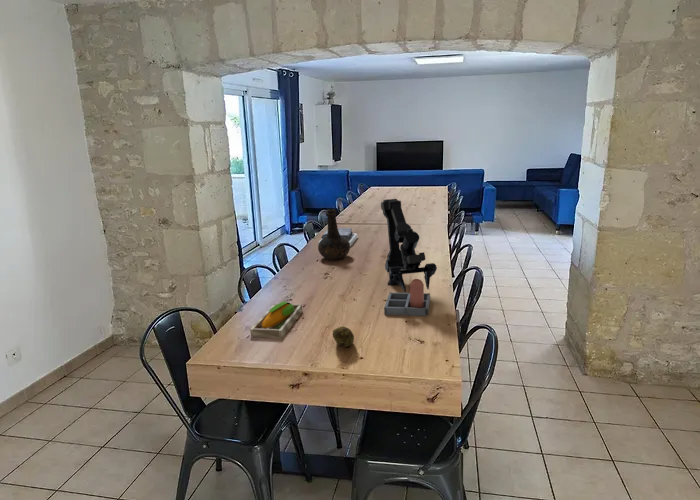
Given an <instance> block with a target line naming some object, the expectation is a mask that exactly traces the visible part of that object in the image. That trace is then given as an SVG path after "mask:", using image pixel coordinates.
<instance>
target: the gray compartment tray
mask: <svg viewBox="0 0 700 500" xmlns="http://www.w3.org/2000/svg"><path fill="white" fill-rule="evenodd" d="M385 301H386V302H385V304H384V307H383V309H384V315H387V316H412V317H428V316H429V312H430V311H429V310H430V302H431V293H429V292H428V293H427V292H426V293H425V292H424V308H412V307H410V292H389V294H388V297H387V299H386V300H385Z"/></svg>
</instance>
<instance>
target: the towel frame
mask: <svg viewBox="0 0 700 500" xmlns="http://www.w3.org/2000/svg"><path fill="white" fill-rule="evenodd" d="M352 234H353V235H352V238H351V240H350V241H349V243H350V248H351V247H352V245H353V244H354V243H355V241H357V239H358V233H355V232H354V233H352ZM321 240H322V238H321V239H320V240H319V241H318V242H317V244H318V245H319V242H320V241H321Z"/></svg>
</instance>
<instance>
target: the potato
mask: <svg viewBox="0 0 700 500" xmlns="http://www.w3.org/2000/svg"><path fill="white" fill-rule="evenodd" d="M353 333H354V332H353V331H352V330H351V329H350V328H348V327H347V326H338V327H336V328H334V329H333V331H332V337H333V339H334V341H335V343H336V344H337V345H338V347H344V348H347V347H350V345H352V344H353V343H354V342H355V341H354V340H355V335H354V334H353Z"/></svg>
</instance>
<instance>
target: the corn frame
mask: <svg viewBox="0 0 700 500" xmlns="http://www.w3.org/2000/svg"><path fill="white" fill-rule="evenodd" d="M277 304H278V303H273V304H272V306H271V307H270V308H269V309H268V310H267V311H266V312H265V313H264V314H263V315H262V316H261V317H260V318H259V319H258V320H257V322H256V323H255V324H254V325H253V326H252V327H251V328H250V329H249V331H250V337H251V338H252V337H253V338H267V339H268V338H270V339H283V338H284V336H285V335H286V334H287V333H288V331H289V330H290V328H291V327H292V326H293V325H294V323H295V322H296V320H298V318H299V316H301V314H302V313H303V305H302V304H294V303H291V304H292V305H293V306H294V312H293V313H292V315H290V317H289V318H287V319H288V320H287V321H286V322H285V323H284V324H283V325H282V326H281V327H279V328H278V329H275V328H266V329H265V328H263V327H262V323H263V321H264V319H265V317H266V316H267V315H268V314H269V313H270V312H269V311H270V309H271V308H273V307H274V306H275V305H277Z"/></svg>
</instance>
